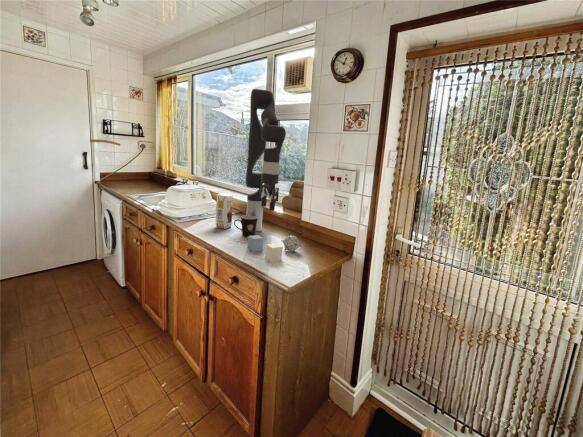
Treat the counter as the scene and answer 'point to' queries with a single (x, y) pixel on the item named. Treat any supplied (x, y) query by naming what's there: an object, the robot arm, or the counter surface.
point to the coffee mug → (247, 225)
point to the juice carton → (224, 210)
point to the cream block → (273, 252)
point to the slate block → (255, 243)
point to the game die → (291, 243)
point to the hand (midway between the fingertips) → (267, 208)
